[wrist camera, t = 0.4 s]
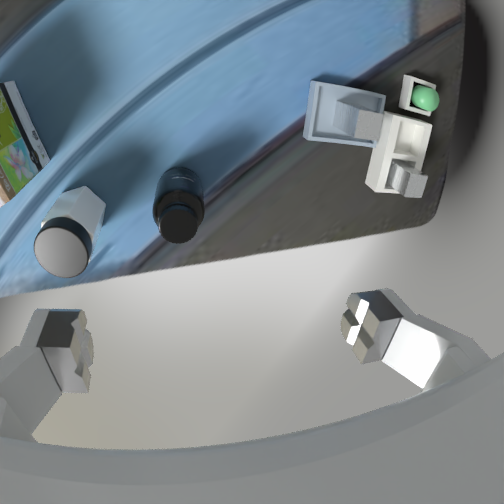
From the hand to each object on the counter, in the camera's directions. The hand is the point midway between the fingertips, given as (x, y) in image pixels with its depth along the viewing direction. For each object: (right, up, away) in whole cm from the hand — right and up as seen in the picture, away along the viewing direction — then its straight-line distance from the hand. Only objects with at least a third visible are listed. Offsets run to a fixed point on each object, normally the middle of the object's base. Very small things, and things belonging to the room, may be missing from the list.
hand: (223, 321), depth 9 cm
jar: (-26, +9, +36) cm, 45 cm away
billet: (+15, +23, +35) cm, 44 cm away
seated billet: (+26, +16, +42) cm, 51 cm away
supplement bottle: (-10, +12, +38) cm, 41 cm away
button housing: (+29, +29, +35) cm, 54 cm away
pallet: (+26, +20, +41) cm, 52 cm away
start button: (+29, +28, +34) cm, 53 cm away
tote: (+15, +23, +35) cm, 45 cm away
